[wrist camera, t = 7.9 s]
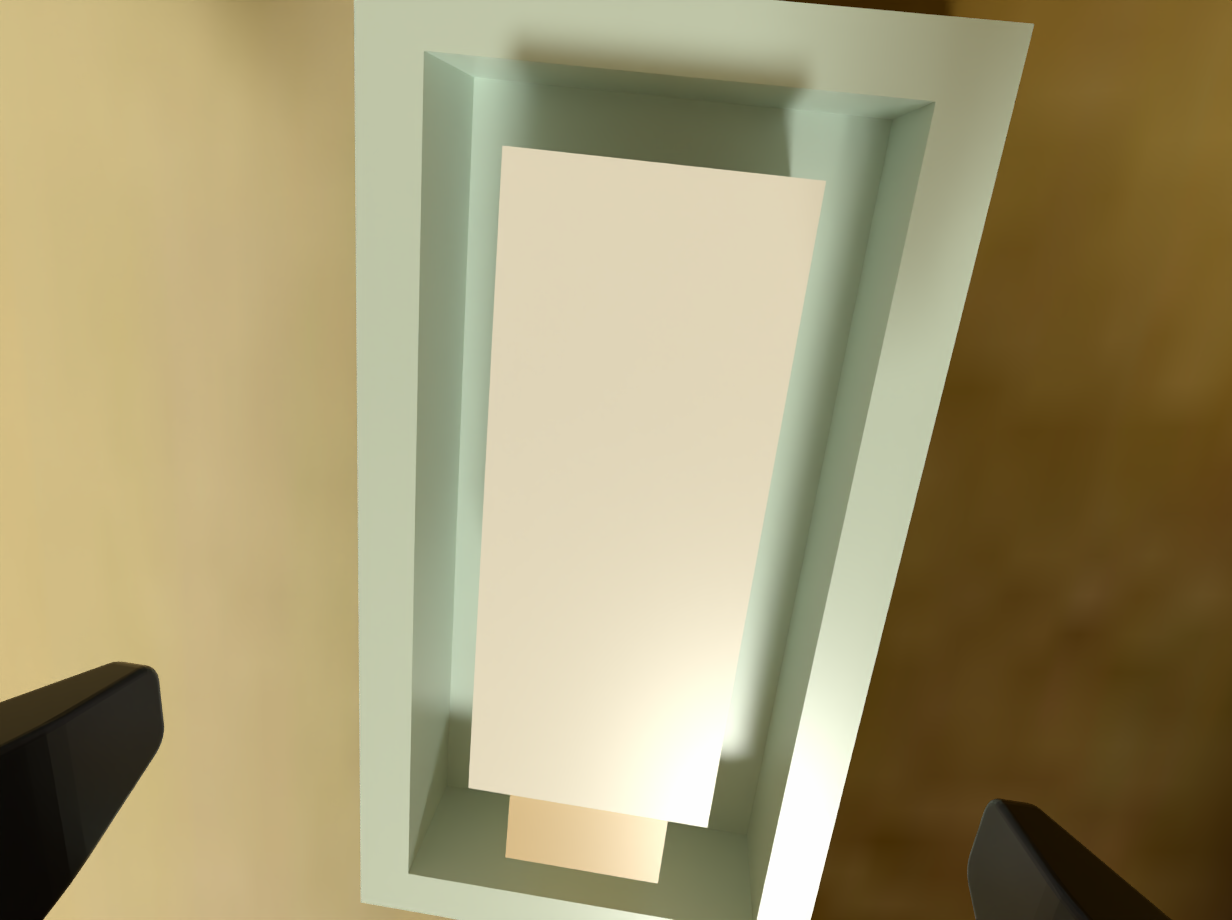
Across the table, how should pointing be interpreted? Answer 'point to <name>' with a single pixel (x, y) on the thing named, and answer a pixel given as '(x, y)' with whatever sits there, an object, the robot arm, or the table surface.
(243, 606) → the table surface
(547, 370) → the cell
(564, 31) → the trough
